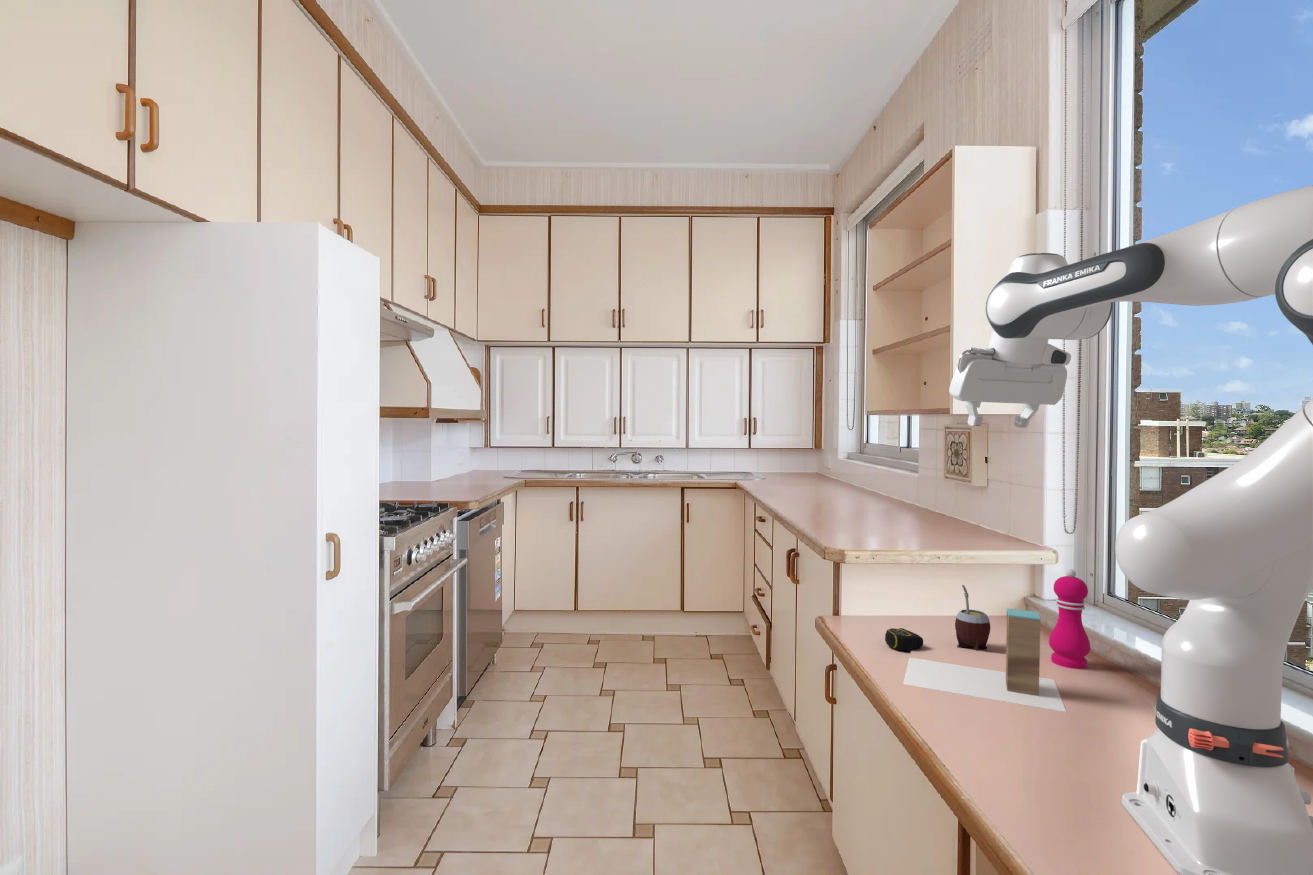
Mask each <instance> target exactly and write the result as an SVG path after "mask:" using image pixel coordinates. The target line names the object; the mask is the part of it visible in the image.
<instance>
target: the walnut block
mask: <svg viewBox="0 0 1313 875" xmlns="http://www.w3.org/2000/svg"><path fill="white" fill-rule="evenodd" d="M1005 639H1006V646H1005V647H1006V648H1005V672H1006V686H1007V691H1010V692H1016V693H1022V694H1028V695H1035V696H1039V677H1040V661H1041V660H1040V657H1041V654H1040V652H1041V616H1040V614H1039V612H1038V611H1032V610H1026V609H1016V608H1008V607H1007V608H1006V638H1005Z"/></svg>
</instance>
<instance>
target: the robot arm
mask: <svg viewBox="0 0 1313 875" xmlns="http://www.w3.org/2000/svg"><path fill="white" fill-rule="evenodd" d="M1273 295H1275V300H1276V303H1277V306H1278V308H1279V310H1280V311H1281V313H1282V315H1283V316H1284V317H1285V318H1286V319H1287V320H1288V321H1289V322H1290V323H1291V324H1292V325H1293V326H1294V327H1295V328H1296V329H1298V330H1299V331H1300V332H1302V333H1303V334H1304V335H1305V336H1306V338H1307V339H1308V341H1309V342H1310V344H1311V345H1312V346H1313V185H1308V186H1304V187H1299V188H1295V189H1291V190H1288V191H1284V192H1280V193H1276V194H1273V195H1270V196H1267V197H1264V198H1261V199H1258V200H1254V201H1251V202H1249V203H1245V204H1243V205H1239V206H1238V207H1235V208H1232V209H1230V210H1227V211H1225V212H1221V213H1219V214H1217V215H1214V216H1211V217H1208V218H1207V219H1206V218H1205V219H1203V220H1200V221H1198V222H1194V223H1193V224H1190V225H1187V226H1185V227H1182V228H1179V229H1177V230H1174V231H1171V232H1168V233H1166V234H1162V235H1160V236H1159V235H1158V236H1155V237H1153V238H1151V239H1146V240H1144V241H1141V242H1138V243H1135V244H1133V245H1130V246H1126V247H1123V248H1120V249H1119V248H1118V249H1116V250H1112V251H1109V252H1106V253H1102V254H1098V255H1096V256H1093V257H1090V258H1086V259H1083V260H1079V261H1077V262H1073V263H1071V264H1070V263H1069V264H1068V261H1067V259H1066V257H1065V256H1064V255H1061V254H1059V253H1051V252H1041V253H1039V252H1038V253H1034V252H1033V253H1032V252H1031V253H1026V254H1022V255H1020V256H1017V257H1016V258H1014V259H1013V260H1012V262H1011V264H1010V266H1009V267H1008V270H1007V272H1006V274H1005V276H1004V277H1002V279H1001V280H999V281H998V282H997V283H996V285H994V287H993V288H992V289H991V291H990V293H989V294H988V297H987V299H986V301H985V302H986V303H985V315H986V319H987V320H988V323H989V325H990V326H991V332H990V336H989V342H988V345H987V347H983V348H981V347H979V348H978V347H969V348H968V349H966V350H964V351H963V352H962V353H960V355H959V357H958V362H957V364H956V365H957V366H956V368H955V371H954V373H953V376H952V379H951V380H950V381H951V382H950V385H949V388H948V393H949V395H950V396H951V398H953V399H955V400H958V401H960V402H965V408H966V411H967V413H968V417H967V424H968V426H971V427H981V425H982V421H983V416H980V415H979V412H978V409H979V408H981V404H982V403H997V404H998V403H1000V404H1022V405H1023V408H1024V409H1023V411H1022V412H1021V414H1020V415H1016V416H1015V417H1014V420H1015V421H1013V422H1014V423H1013V425H1014V427H1017V428H1022V429H1024V428H1025V429H1027V428H1028V426H1029V424H1030V423H1029V422H1030V419H1032V418H1033V417H1034V415H1035V414H1036V413H1037V412H1038V411H1039V408H1040V405H1047V406H1048V405H1049V406H1052V405H1053V406H1055V405H1057V404H1058V403H1059V402H1060V401H1061V400H1062V397H1063V395H1064V392H1065V388H1066V384H1067V378H1068V369H1067V368H1066V366H1068V365H1069V364H1070V362H1071V360H1072V354H1071V353H1070V352H1068V351H1065V350H1064V349H1061V348H1059V347H1058V346H1057V347H1056V346H1055V345H1052V344H1050V343H1049V340H1067V341H1068V340H1069V341H1078V340H1085V339H1086V340H1087V339H1091V338H1093V337H1095V336H1097V335H1098V334H1099V333H1101V331H1102V330H1104V328H1105V327H1106V325H1107V324H1108V322H1109V320H1110V318H1111V315H1112V314H1113V313H1112V312H1113V307H1114V304H1113V303H1117V302H1118V303H1119V302H1133V303H1134V302H1135V303H1137V302H1139V303H1140V302H1141V303H1151V304H1152V303H1153V304H1154V303H1155V304H1167V305H1179V306H1197V307H1198V306H1216V305H1217V306H1218V305H1227V304H1235V303H1243V302H1248V301H1252V300H1256V299H1257V300H1258V299H1260V298H1265V297H1268V296H1273ZM977 408H978V409H977ZM1114 548H1115V549H1114V552H1115V557H1116V560H1117V564H1118V566H1119V569H1120V570H1121V572H1122V574H1123V575H1124V576H1125V577H1126V579H1127V580H1128V581H1129V582H1130V583H1131V584H1133V585H1134V586H1135V587H1137V588H1138V589H1140V590H1142V591H1144V592H1147V593H1149V594H1153V595H1158V596H1163V597H1166V598H1167V597H1168V598H1173V599H1178V600H1184V601H1185V600H1186V601H1188V603H1187V604H1186V606H1185V609H1184V611H1183V613H1182V614H1181V616H1179V618H1178V619H1177V620H1176V621H1175V622H1174V623H1173V624H1172V625H1171V626H1170V627H1169V628H1168V629H1167V630H1166V631H1165V633H1164V634H1163V637H1162V640H1161V666H1160V667H1161V668H1160V671H1161V672H1160V693H1159V694H1158V695H1157V696H1156V699H1155V700H1156V702H1155V705H1154V714H1155V721H1154V722H1155V725H1156V727H1157V728H1156V729H1155V731H1154V732H1152V733H1151V734H1150V735H1149V736H1148V737H1146V738H1143V739H1142V740H1141V742H1140V748H1139V758H1138V759H1139V760H1138V761H1139V762H1138V772H1137V786H1136V790H1135V791H1130V792H1129V791H1127V792H1125V793H1123V794H1122V796H1121V804H1122V806H1123V807H1124V809H1126V811H1127V812H1128V813H1129V814H1130V815H1131V817H1132V818H1133V819H1134V820H1135V822H1136V823H1137V825H1139V826H1140V828H1141V829H1142V830H1143V831H1144V833H1145V834H1146V835H1147V836H1148V838H1150V839H1149V840H1151V842H1153V844H1154V845H1155V846H1156V848H1158V850H1159V851H1160V852H1161V853H1162V855H1163V856H1164V857H1165V858H1166V859H1167V861H1168V862H1169V863H1170V865H1171V866H1172V868H1174V869H1175V871H1177V872H1178V874H1180V875H1313V816H1311V815H1309V813H1308V809H1307V807H1306V805H1311V803H1312V799H1311V793H1310V792H1309V791H1306V790H1303V789H1300V786H1299V783H1298V781H1297V778H1296V775H1295V768H1294V767H1293V766H1292V765H1291V764H1290V763H1289V762H1290V755H1289V754H1290V753H1289V745H1290V744H1289V737H1288V735H1287V732H1286V731H1287V730H1286V725H1285V723H1284V722H1283V720H1282V719H1281V717H1282V715H1281V714H1282V713H1281V712H1282V694H1283V693H1282V692H1283V691H1282V689H1283V672H1284V670H1283V669H1284V663H1285V662H1284V661H1285V656H1286V652H1287V647H1288V644H1289V641H1290V639H1291V635H1292V633H1293V630H1294V628H1295V626H1296V623H1297V620H1298V618H1299V615H1300V613H1301V610H1302V608H1303V606H1304V603H1305V602H1306V599H1307V598H1308V596H1309V595H1310V593H1311V591H1312V590H1313V398H1312V399H1310V400H1309V401H1308V402H1307V403H1306V404H1305V405H1304V406H1302V407H1301V408H1300V409H1299V410H1298V411H1296V412H1295V413H1294V415H1292V416H1291V417H1290V418H1289V419H1287V420H1286V421H1285V422H1284V423H1283V424H1282V425H1281V426H1280V427H1278V428H1277V429H1276V430H1275V431H1274V432H1273V433H1272V434H1270V435H1269V436H1268V437H1267V438H1266V439H1265V440H1263V441H1262V443H1260V444H1259V445H1258V446H1257V447H1256V448H1254V449H1253V450H1252V451H1251V452H1249V453H1248V454H1246V456H1244V457H1242V458H1241V459H1239V460H1237V462H1234V463H1233V464H1232V465H1230V466H1229V467H1227V468H1225V469H1224V470H1222V471H1220V472H1218V473H1217V474H1215V475H1214V476H1211V477H1210V478H1208V479H1206V480H1205V481H1203V482H1201V483H1200V484H1198V485H1197V486H1195V487H1193V488H1191V489H1190V490H1188V491H1186V492H1185V493H1184V494H1181V495H1180V496H1178V497H1176V498H1174V499H1173V500H1171V501H1169V502H1167V503H1165V504H1163V505H1162V506H1158V507H1156V508H1155V509H1152V510H1149V511H1147V512H1144V513H1142V514H1139V515H1136V516H1133V517H1131V518H1130V519H1128V520H1127V521H1126V522H1124V524H1123V525H1122V526H1121V527H1120V529H1119V530H1118V532H1117V535H1116V539H1115V544H1114Z"/></svg>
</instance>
